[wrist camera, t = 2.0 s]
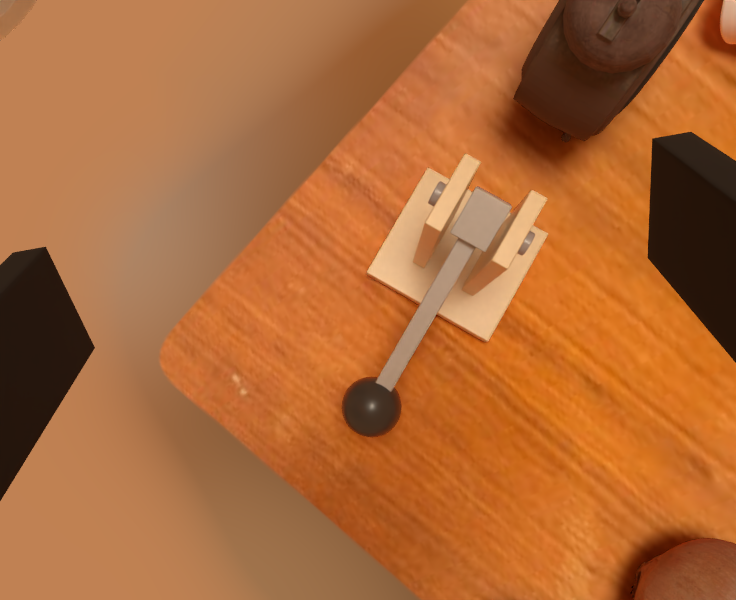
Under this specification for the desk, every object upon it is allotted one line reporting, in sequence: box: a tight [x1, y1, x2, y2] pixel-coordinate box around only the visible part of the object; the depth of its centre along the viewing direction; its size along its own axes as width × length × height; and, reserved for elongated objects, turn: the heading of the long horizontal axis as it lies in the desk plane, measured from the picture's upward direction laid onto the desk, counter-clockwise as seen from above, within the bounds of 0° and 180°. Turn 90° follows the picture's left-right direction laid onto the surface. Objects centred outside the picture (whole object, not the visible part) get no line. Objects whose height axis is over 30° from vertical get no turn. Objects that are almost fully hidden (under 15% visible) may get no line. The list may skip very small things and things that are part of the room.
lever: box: [342, 186, 512, 437], centre depth 38 cm, size 16×4×4 cm, turn 150°
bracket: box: [367, 153, 548, 342], centre depth 41 cm, size 9×10×14 cm
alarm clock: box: [513, 0, 704, 142], centre depth 39 cm, size 15×7×20 cm, turn 147°
